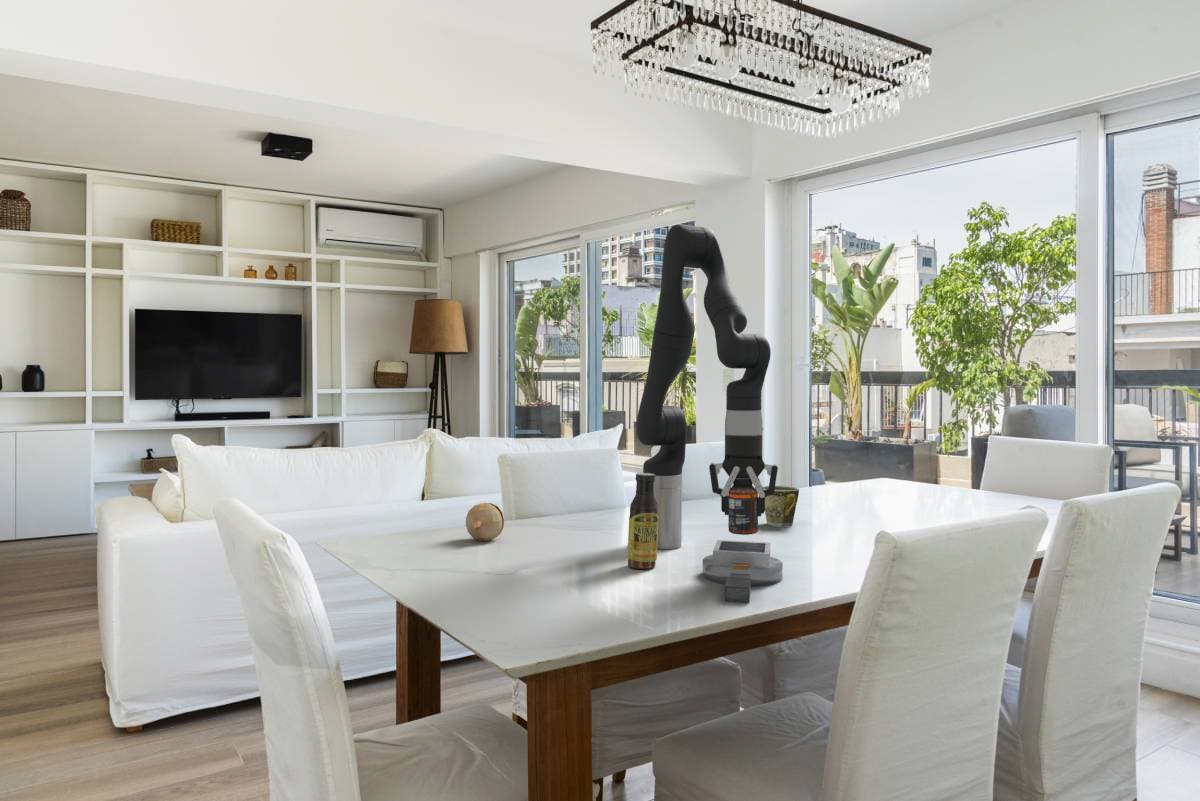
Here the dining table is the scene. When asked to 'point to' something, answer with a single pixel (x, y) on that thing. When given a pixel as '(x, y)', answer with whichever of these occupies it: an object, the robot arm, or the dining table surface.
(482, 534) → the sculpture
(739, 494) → the supplement bottle
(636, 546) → the sauce bottle
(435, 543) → the dining table surface
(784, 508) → the ceramic cup
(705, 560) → the grey platform stand
